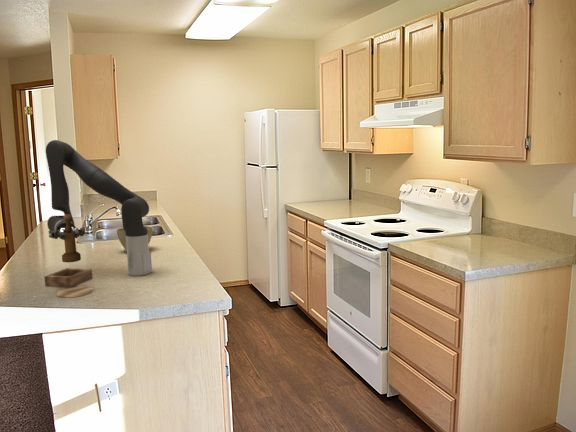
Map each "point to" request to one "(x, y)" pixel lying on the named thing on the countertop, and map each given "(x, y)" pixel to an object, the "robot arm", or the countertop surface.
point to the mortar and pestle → (70, 243)
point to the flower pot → (122, 235)
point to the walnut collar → (68, 277)
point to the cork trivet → (74, 291)
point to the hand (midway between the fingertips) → (70, 236)
